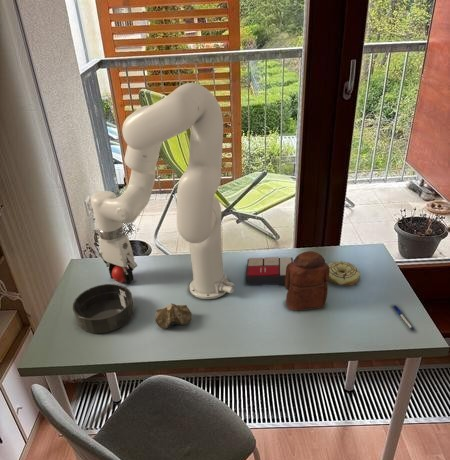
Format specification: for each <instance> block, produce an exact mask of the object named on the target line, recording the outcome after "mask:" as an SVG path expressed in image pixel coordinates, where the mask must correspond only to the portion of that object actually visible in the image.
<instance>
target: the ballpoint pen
mask: <svg viewBox="0 0 450 460" xmlns="http://www.w3.org/2000/svg"><path fill="white" fill-rule="evenodd" d="M393 308H394V310H395V311H396V312H397V314H398V315H399V316H400V317H401V319H402V321H404V322H405V324H406V325H407V327H408V328H409V329H410V330H411V331H414V328H413V326H412V325H411V324H410V322H409V321H408V319H406V317H405V316H404V314H403V313H402V311H401V310H400V309H399V308H398V306H397V305H393Z"/></svg>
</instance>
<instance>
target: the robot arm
mask: <svg viewBox="0 0 450 460" xmlns="http://www.w3.org/2000/svg"><path fill="white" fill-rule="evenodd" d="M223 117H224V116H223V113H222V109H221V106H220V103H219V102H218V99H217V98H216V96H215V95H214V94H213V93H212V92H211V91H210V90H209V89H208V88H206V87H205V86H203V85H202V84H199V83H196V82H187V83H183V84H181V85H180V86H178V87H177V88H175V89H174V90H173V91H171V92H170V93H169V94H168V95H166V96H165V97H163V98H161V99H159V100H158V101H156V102H154V103H152V104H151V105H149V104H148V105H143V106H140V107H138V108H137V109H136V110H135V111H133V112H132V113H130V114H129V115H128V116H127V117H126V118H125V120H124V121H123V124H122V128H121V130H122V137H123V141H124V142H125V143H126V150H125V154H124V160H123V161H124V163H125V165H126V167H128V168H129V169H130V176H129V181H128V185H127V188H126V189H125V190H124V191H123V192H122V194H121V195H119V196H117V194H116V193H115V192H113V191H110V190H101V191H98V192H95V193H93V194H92V196H91V197H90V205H91V208H92V212H93V216H94V219H95V223H96V227H97V231H98V240H99V241H98V243H99V248H100V252H99V254H98V255H99V257H100V258H101V259H102V261H103V263H104V264H105V266H106V268H107V269H108V273H109V276H110V279H113V277H112V270H113V268H114V267H115V266H116V265H118V266H121V267H122V268H123V270H124V272H125V274H124V277H125V284H126V285H130V284H131V282H133V281H134V279H135V278H134V274H133V271H134V270H135V269H136V268H138V263H137V262H136V261H135V256H134V252H133V248H132V245H131V243H130V240H129V238H128V237H129V236H127V234H126V232H125V230H124V229H125V228H124V225H123V224H131V223H133V222H135V221H136V220H137V219H138V217H139V216H140V215H141V213H142V212H143V211H144V210H145V208H146V207H147V206H148V204H149V202H150V199H151V197H152V193H153V189H154V185H155V181H156V168H157V167H156V166H157V164H158V163H157V162H158V159H159V155H160V151H161V148H162V144H163V143H164V142H166V141H168V140H170V139H173V138H174V137H176V136H178V135H180V134H182V133H184V132H186V131H187V130H189V129H190V136H189V155H188V165H187V167H186V169H185V170H184V172H183V173H182V174H181V176H180V178H179V180H178V184H177V189H176V228H177V231H178V233H179V235H180V237H181V238H182V239H183V240H184V241H186V242H188V243H189V253H190V261H191V270H192V280H191V282H190V284H189V292H190V293H191V295H192V296H194V297H195V298H197V299H200V300H201V299H202V300H214V299H218V298H220V297H222V296H224V295H225V294H226V293H228V294H233V293H234V286H235V283H234V282H231V281H229V280H228V279H227V275H225V274H224V261H223V260H224V259H223V247H222V245H223V244H222V207H221V203H220V201H219V199H218V198H217V196H215V194H216V193H217V191H218V188H220V187H219V186H220V184H221V180H222V165H223V163H222V161H223V143H224V118H223ZM126 266H127V267H128V269H127V268H126ZM113 280H114V279H113Z"/></svg>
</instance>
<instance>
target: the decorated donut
mask: <svg viewBox="0 0 450 460" xmlns="http://www.w3.org/2000/svg"><path fill="white" fill-rule="evenodd" d="M327 265H328V266H329V268H330V270H329V280H328V281H329V282H330V283H332V284H335V285H339V286H343V287H345V286H347V287H348V286H353V285H356V283H357V282H358V281H359V279H360V277H361V273H360V271H359V269H358V267H356V266H355V265H354V264H353V263H350V262H348V261H342V260H337V261H333V262H330V263H327Z"/></svg>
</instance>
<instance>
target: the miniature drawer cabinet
mask: <svg viewBox="0 0 450 460" xmlns="http://www.w3.org/2000/svg"><path fill="white" fill-rule="evenodd" d="M293 261H294V258H293V257H291V256H288V257H287V256H285V257H279V256H272V257H271V256H270V257H268V256H267V257H249V258H248V259H247V263H246V271H245V282H246V283H245V284H246V285H280V286H285V276H286V267H287V265H288V264H289V263H292V262H293Z"/></svg>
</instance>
